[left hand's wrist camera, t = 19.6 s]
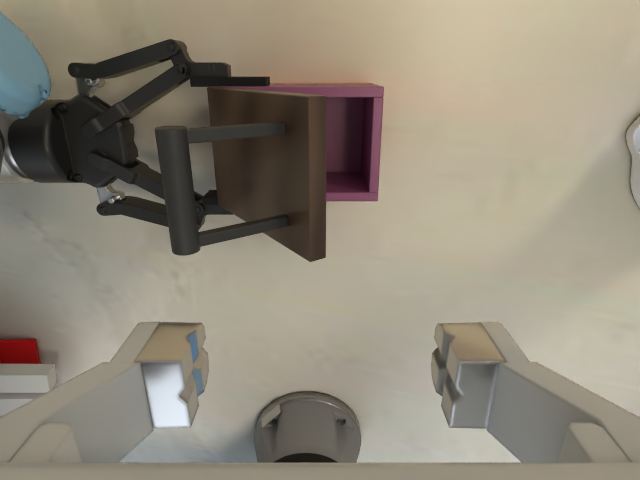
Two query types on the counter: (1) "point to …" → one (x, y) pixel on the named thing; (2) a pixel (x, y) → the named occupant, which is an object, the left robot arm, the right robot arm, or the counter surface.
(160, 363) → the left robot arm
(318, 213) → the lid
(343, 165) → the chest
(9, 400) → the toy
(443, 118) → the counter surface
